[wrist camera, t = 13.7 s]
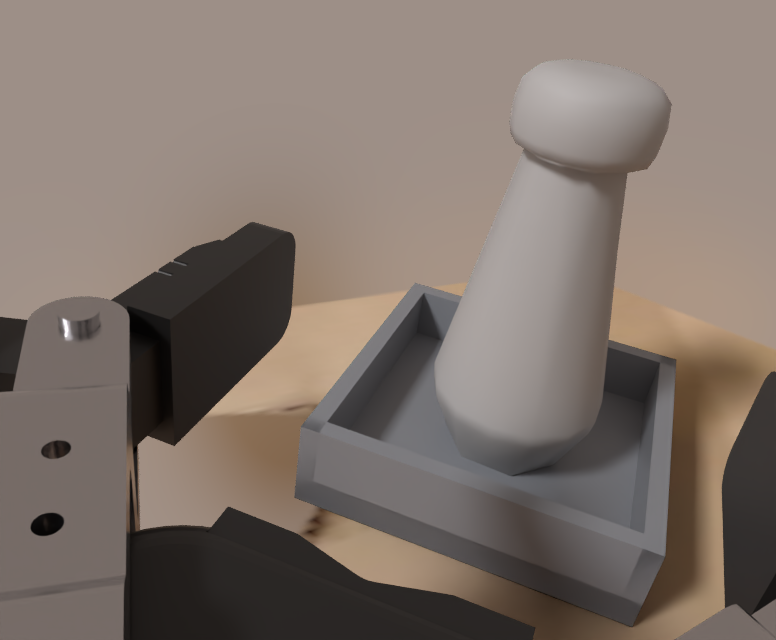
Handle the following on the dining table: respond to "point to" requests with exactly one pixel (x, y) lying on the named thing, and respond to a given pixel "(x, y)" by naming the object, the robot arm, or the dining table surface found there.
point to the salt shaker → (548, 268)
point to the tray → (490, 487)
